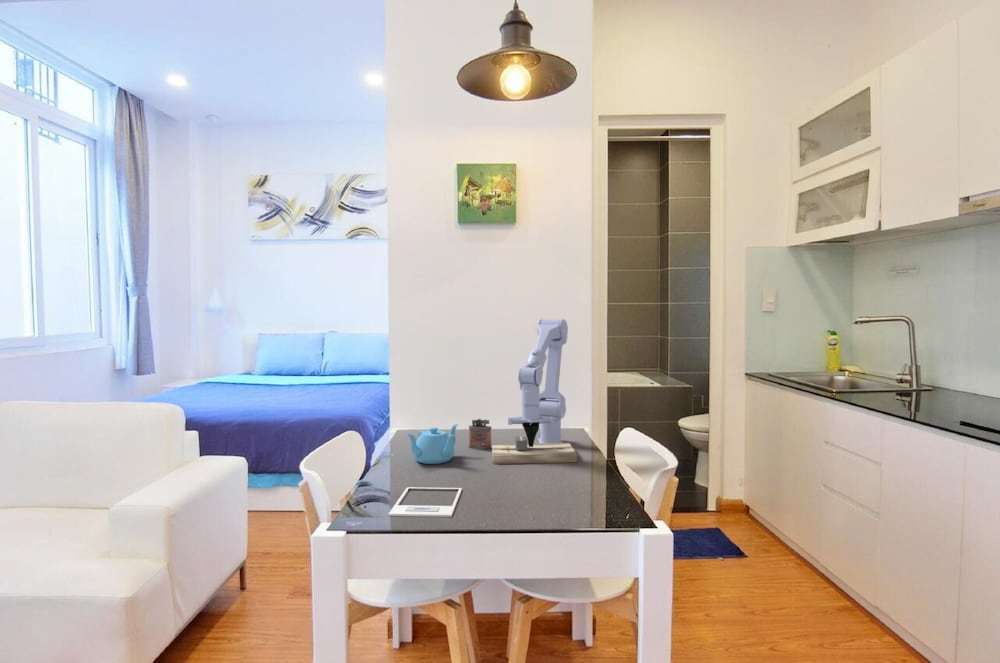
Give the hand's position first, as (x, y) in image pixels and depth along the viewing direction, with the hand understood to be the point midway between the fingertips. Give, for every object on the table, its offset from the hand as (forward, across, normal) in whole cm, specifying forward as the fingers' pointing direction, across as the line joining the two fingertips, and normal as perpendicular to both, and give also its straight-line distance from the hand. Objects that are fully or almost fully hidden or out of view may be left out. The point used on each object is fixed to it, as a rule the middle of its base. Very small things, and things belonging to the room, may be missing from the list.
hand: (530, 446), depth 165 cm
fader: (+1, -3, 0) cm, 3 cm away
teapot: (+4, -30, -2) cm, 31 cm away
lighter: (+4, -16, +12) cm, 21 cm away
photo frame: (+4, -30, -38) cm, 48 cm away
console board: (+3, +1, 0) cm, 3 cm away
